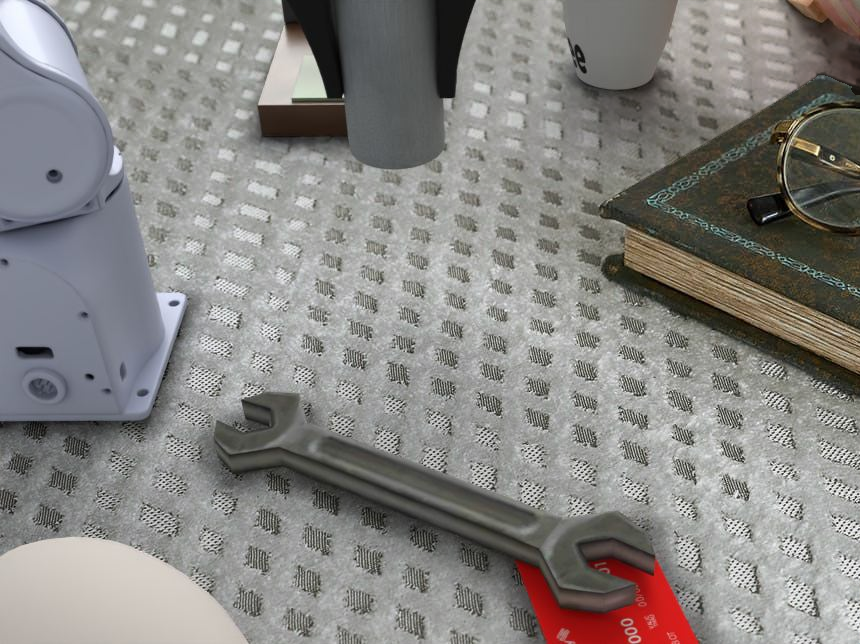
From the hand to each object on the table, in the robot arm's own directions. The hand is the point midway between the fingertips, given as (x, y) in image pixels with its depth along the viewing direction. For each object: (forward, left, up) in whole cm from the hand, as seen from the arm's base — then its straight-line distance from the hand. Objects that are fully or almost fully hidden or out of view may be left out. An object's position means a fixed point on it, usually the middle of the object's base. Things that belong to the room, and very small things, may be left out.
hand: (393, 89), depth 55 cm
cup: (+23, -12, -10) cm, 28 cm away
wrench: (-23, -11, -9) cm, 26 cm away
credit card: (-23, -9, -10) cm, 27 cm away
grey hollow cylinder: (0, 0, -3) cm, 3 cm away
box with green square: (+21, +5, -10) cm, 24 cm away
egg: (-25, +13, -6) cm, 29 cm away
